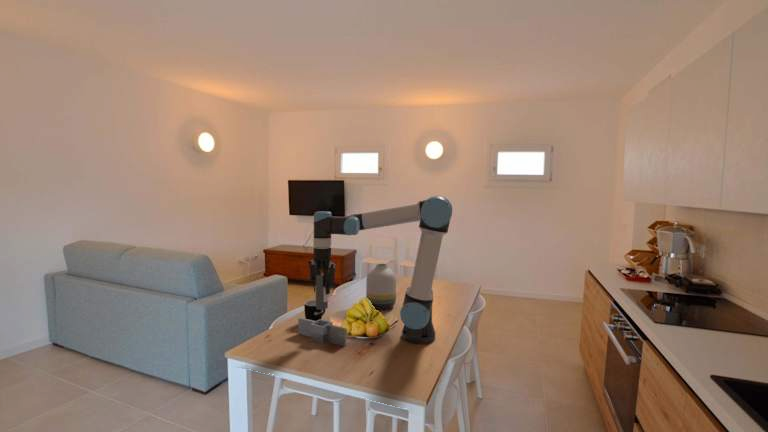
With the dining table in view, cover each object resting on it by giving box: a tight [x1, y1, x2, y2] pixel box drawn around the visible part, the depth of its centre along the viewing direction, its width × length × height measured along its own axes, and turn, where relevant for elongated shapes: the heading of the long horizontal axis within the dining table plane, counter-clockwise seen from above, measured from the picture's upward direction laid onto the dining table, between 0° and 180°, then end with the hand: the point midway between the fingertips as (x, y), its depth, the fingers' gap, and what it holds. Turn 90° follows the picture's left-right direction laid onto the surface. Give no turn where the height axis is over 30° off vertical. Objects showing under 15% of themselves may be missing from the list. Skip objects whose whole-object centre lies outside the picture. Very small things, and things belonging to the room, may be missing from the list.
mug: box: [303, 299, 326, 321], centre depth 177 cm, size 12×9×10 cm
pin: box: [316, 272, 329, 310], centre depth 156 cm, size 4×4×15 cm
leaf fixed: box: [311, 324, 348, 347], centre depth 155 cm, size 16×6×7 cm, turn 63°
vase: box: [365, 263, 398, 310], centre depth 202 cm, size 17×17×24 cm
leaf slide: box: [297, 317, 333, 338], centre depth 159 cm, size 16×7×7 cm, turn 63°
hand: (321, 300), depth 156 cm, fingers closed on pin, 4 cm apart
